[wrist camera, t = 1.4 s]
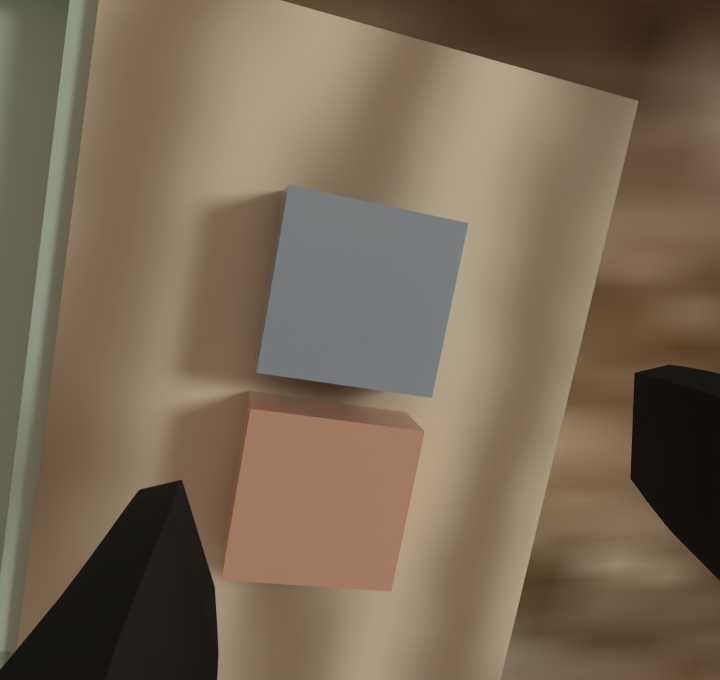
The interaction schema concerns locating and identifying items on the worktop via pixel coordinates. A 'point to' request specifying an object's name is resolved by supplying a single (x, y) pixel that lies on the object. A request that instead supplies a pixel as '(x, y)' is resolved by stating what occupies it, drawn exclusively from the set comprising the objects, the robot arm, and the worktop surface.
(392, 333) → the slate tile
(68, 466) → the birch board
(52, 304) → the box
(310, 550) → the terracotta tile
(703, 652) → the worktop surface
